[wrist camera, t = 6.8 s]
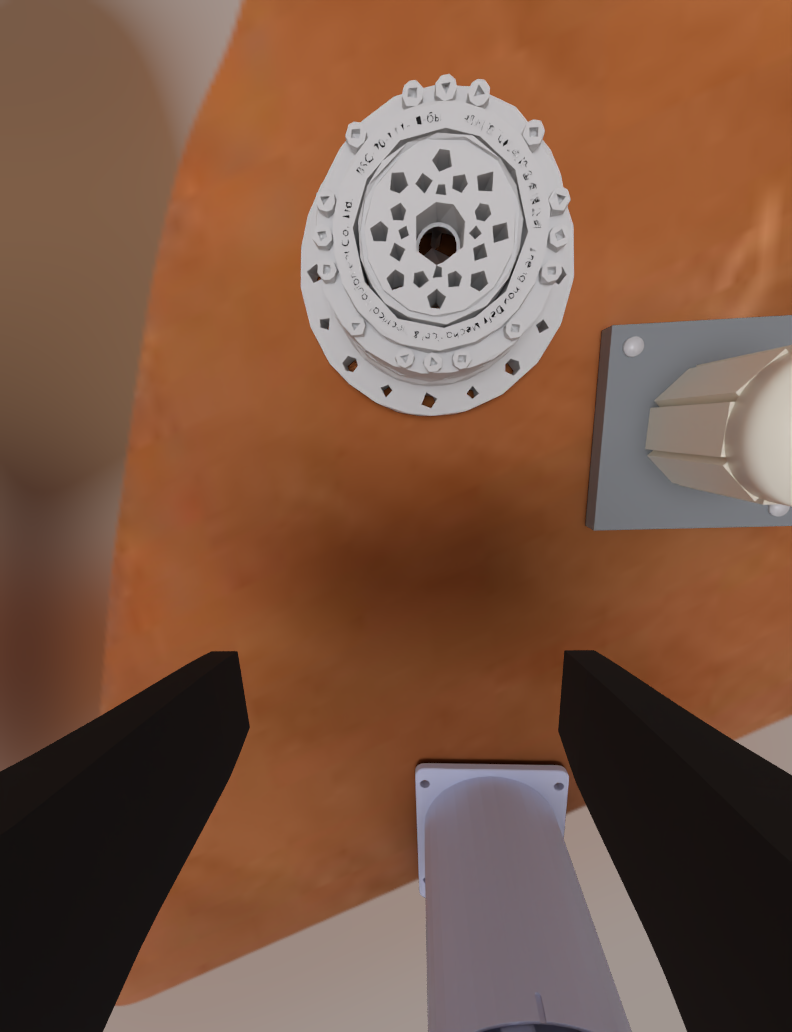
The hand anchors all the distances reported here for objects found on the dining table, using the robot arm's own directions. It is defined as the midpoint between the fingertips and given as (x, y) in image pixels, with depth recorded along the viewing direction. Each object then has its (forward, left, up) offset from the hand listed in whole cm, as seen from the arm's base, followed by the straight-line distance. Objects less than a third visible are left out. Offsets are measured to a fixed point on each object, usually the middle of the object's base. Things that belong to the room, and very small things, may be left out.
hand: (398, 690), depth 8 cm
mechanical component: (+11, -1, -10) cm, 15 cm away
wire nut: (+5, -12, -9) cm, 16 cm away
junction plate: (+5, -12, -9) cm, 16 cm away
